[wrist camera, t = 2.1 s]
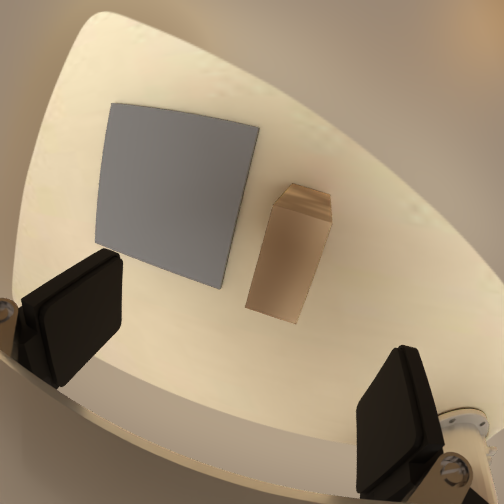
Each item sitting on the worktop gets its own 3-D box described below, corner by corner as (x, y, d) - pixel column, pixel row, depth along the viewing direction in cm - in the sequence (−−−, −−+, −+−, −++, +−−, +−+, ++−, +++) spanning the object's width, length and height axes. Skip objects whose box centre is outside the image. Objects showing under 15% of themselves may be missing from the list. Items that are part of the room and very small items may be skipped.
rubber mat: (259, 127, 22) (258, 127, 22) (221, 287, 28) (219, 289, 27) (114, 103, 24) (111, 103, 24) (97, 241, 30) (94, 242, 29)
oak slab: (330, 194, 23) (332, 223, 15) (307, 265, 25) (296, 324, 17) (291, 182, 23) (271, 204, 15) (271, 253, 26) (243, 307, 17)
